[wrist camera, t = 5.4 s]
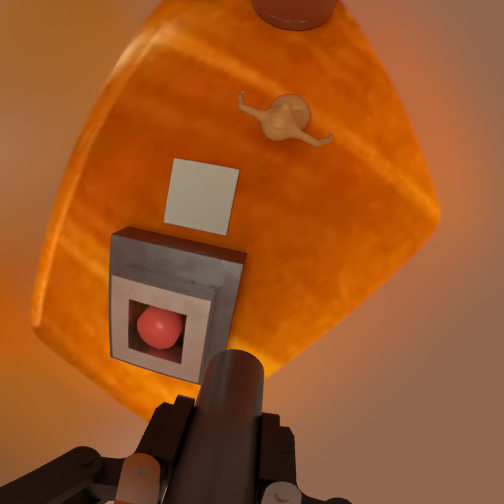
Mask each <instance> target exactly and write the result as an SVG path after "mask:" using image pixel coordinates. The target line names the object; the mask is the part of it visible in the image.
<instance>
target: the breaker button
mask: <svg viewBox="0 0 504 504" xmlns="http://www.w3.org/2000/svg"><path fill="white" fill-rule="evenodd" d="M186 319H187V315H184V314H181V313H177V312H173V311H169V310H166V309H162V308H159V307H155V306H151V305H149V307H148V308H147V309H146V310H145V311H144V312H143V314H142V315H141V316H140V317H139V319H138V322H137V329H138V332H139V334H140V336H141V338H142V339H143V340H144V341H145V342H146V343H147V344H149V345H150V346H152V347H155V348H158V349H166V348H169V347H171V346H173V345H174V344H175V342H176V340H177V339H178V337H179V335H180V333H181V331H182V329H183V328H184V326H185V324H186Z"/></svg>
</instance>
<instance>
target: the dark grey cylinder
mask: <svg viewBox="0 0 504 504" xmlns="http://www.w3.org/2000/svg"><path fill="white" fill-rule="evenodd" d="M263 384H264V369H263V366H262V364H261V362H260V361H259V360H258V359H257V358H256V357H255V356H253V355H252V354H250V353H248V352H245V351H242V350H235V349H231V350H225V351H221V352H219V353H217V354H216V355H215V356H213V357H212V359H211V360H210V362H209V364H208V367H207V370H206V373H205V376H204V379H203V382H202V385H201V388H200V391H199V394H198V397H197V400H196V403H195V406H194V409H193V412H192V415H191V418H190V421H189V424H188V427H187V430H186V433H185V436H184V439H183V442H182V445H181V448H180V451H179V454H178V457H177V460H176V463H175V466H174V469H173V472H172V475H171V478H170V481H169V484H168V487H167V490H166V493H165V496H164V499H163V502H162V504H255V501H256V476H257V462H258V449H259V435H260V420H261V414H262V401H263Z"/></svg>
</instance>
